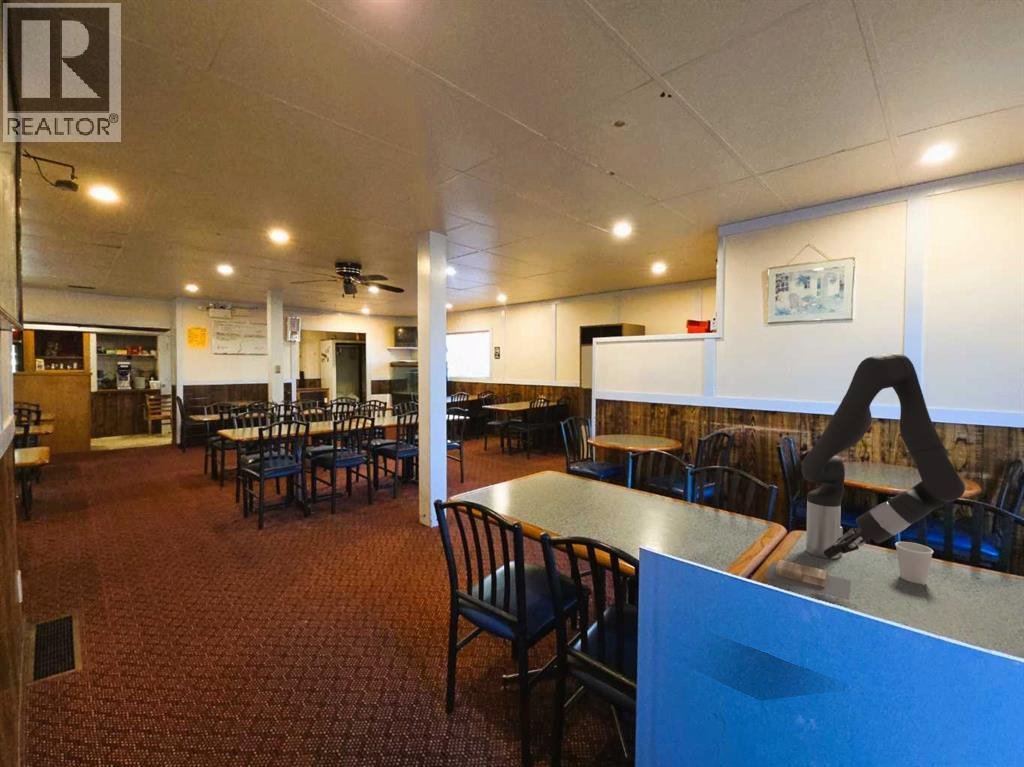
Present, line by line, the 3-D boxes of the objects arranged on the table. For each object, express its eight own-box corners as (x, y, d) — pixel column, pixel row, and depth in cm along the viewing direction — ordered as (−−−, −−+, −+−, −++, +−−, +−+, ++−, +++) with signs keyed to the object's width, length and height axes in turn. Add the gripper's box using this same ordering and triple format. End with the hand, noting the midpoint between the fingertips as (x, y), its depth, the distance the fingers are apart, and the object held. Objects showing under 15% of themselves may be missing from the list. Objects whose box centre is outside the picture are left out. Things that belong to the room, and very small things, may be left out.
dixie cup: (940, 588, 125) (941, 553, 125) (906, 585, 127) (907, 551, 126) (919, 575, 133) (920, 542, 133) (887, 572, 135) (888, 540, 134)
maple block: (827, 570, 129) (779, 559, 137) (825, 579, 124) (775, 567, 131) (826, 579, 129) (779, 567, 137) (824, 588, 124) (775, 575, 132)
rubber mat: (850, 582, 129) (850, 580, 129) (848, 601, 118) (848, 599, 118) (772, 563, 141) (772, 561, 141) (763, 578, 130) (763, 577, 130)
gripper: (870, 504, 125) (817, 536, 133) (870, 516, 115) (812, 550, 123) (895, 527, 122) (838, 559, 130) (896, 541, 112) (835, 574, 120)
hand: (826, 554), depth 126 cm, fingers closed
